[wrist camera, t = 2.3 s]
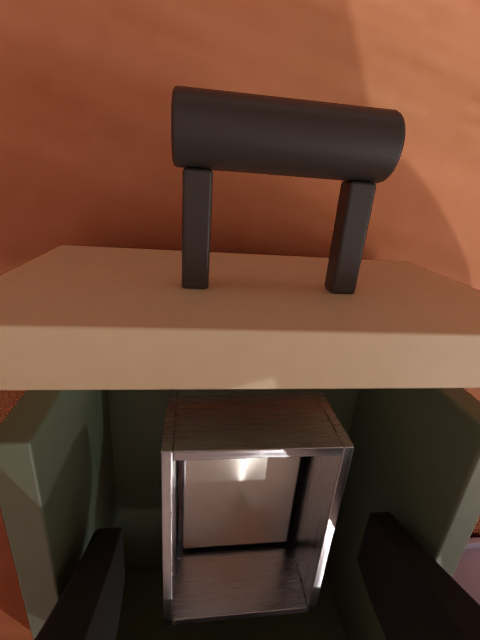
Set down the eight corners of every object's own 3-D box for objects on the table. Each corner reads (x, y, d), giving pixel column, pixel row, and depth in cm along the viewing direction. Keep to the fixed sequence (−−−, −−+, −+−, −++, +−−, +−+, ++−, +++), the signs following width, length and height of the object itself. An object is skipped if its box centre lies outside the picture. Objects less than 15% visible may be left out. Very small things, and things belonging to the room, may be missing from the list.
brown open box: (307, 366, 13) (355, 446, 9) (285, 504, 16) (315, 612, 12) (171, 366, 12) (160, 452, 8) (171, 510, 15) (163, 626, 11)
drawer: (44, 105, 10) (-204, -11, 4) (436, 145, 12) (711, 107, 5) (97, 562, 17) (42, 780, 11) (336, 546, 19) (405, 727, 13)
